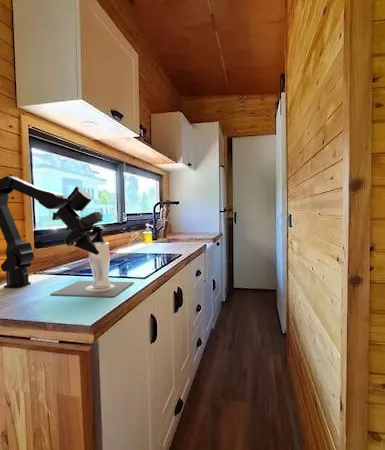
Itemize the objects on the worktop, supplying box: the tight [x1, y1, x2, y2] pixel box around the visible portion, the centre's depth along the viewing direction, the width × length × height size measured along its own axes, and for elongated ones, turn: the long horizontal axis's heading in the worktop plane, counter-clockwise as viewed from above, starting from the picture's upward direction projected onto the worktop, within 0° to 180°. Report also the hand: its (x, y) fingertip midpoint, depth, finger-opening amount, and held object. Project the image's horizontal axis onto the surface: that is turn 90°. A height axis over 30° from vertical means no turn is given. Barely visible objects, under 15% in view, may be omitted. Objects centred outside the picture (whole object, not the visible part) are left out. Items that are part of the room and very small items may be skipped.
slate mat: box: [49, 280, 134, 298], centre depth 106 cm, size 22×18×1 cm
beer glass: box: [88, 241, 111, 288], centre depth 106 cm, size 7×7×15 cm
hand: (102, 252), depth 105 cm, fingers closed on beer glass, 6 cm apart
